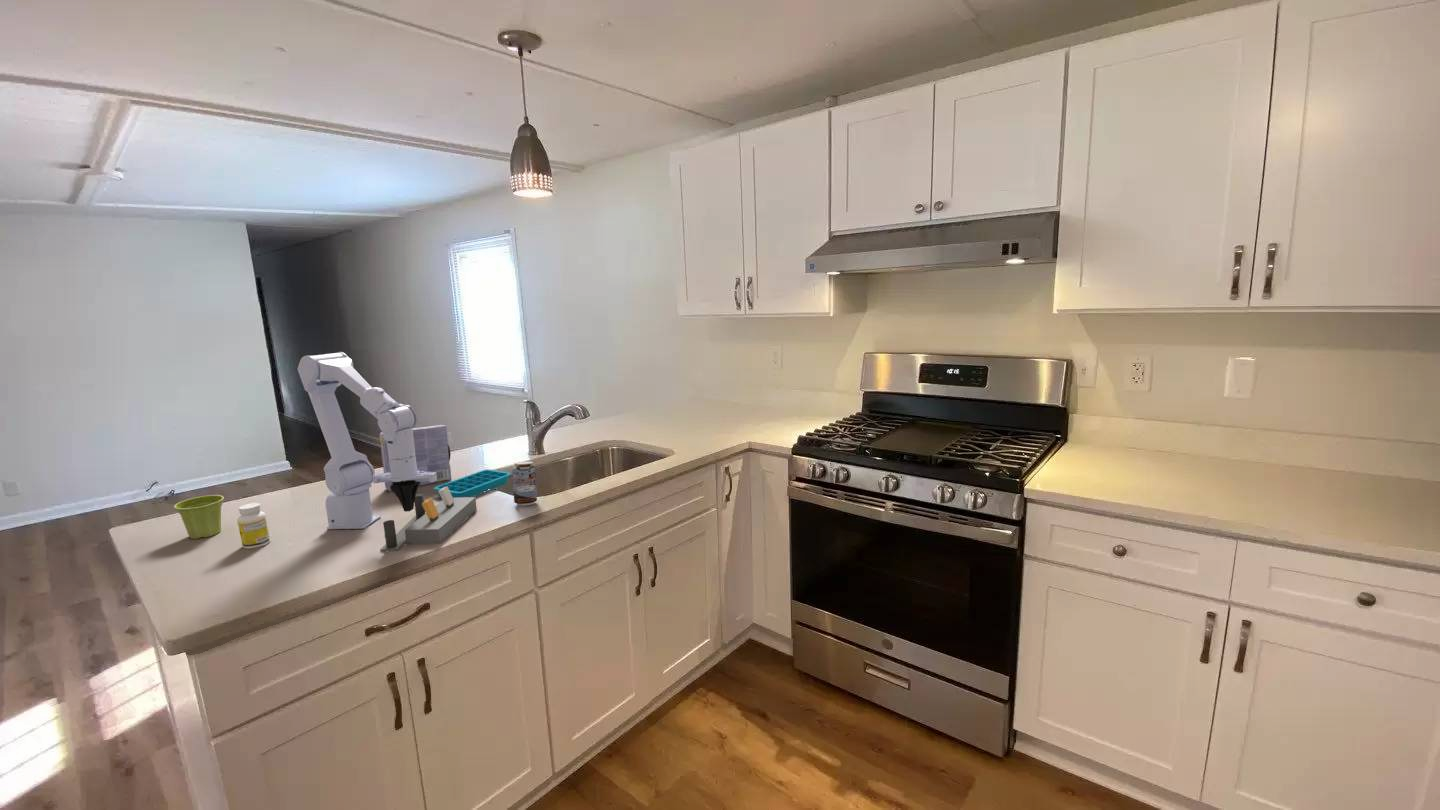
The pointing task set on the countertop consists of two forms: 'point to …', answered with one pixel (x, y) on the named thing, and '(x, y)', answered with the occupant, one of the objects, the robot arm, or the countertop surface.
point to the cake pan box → (425, 453)
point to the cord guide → (399, 540)
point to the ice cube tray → (475, 483)
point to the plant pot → (201, 515)
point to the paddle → (446, 497)
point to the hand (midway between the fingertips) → (408, 510)
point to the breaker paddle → (430, 509)
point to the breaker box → (440, 522)
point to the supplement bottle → (253, 526)
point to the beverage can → (524, 483)
